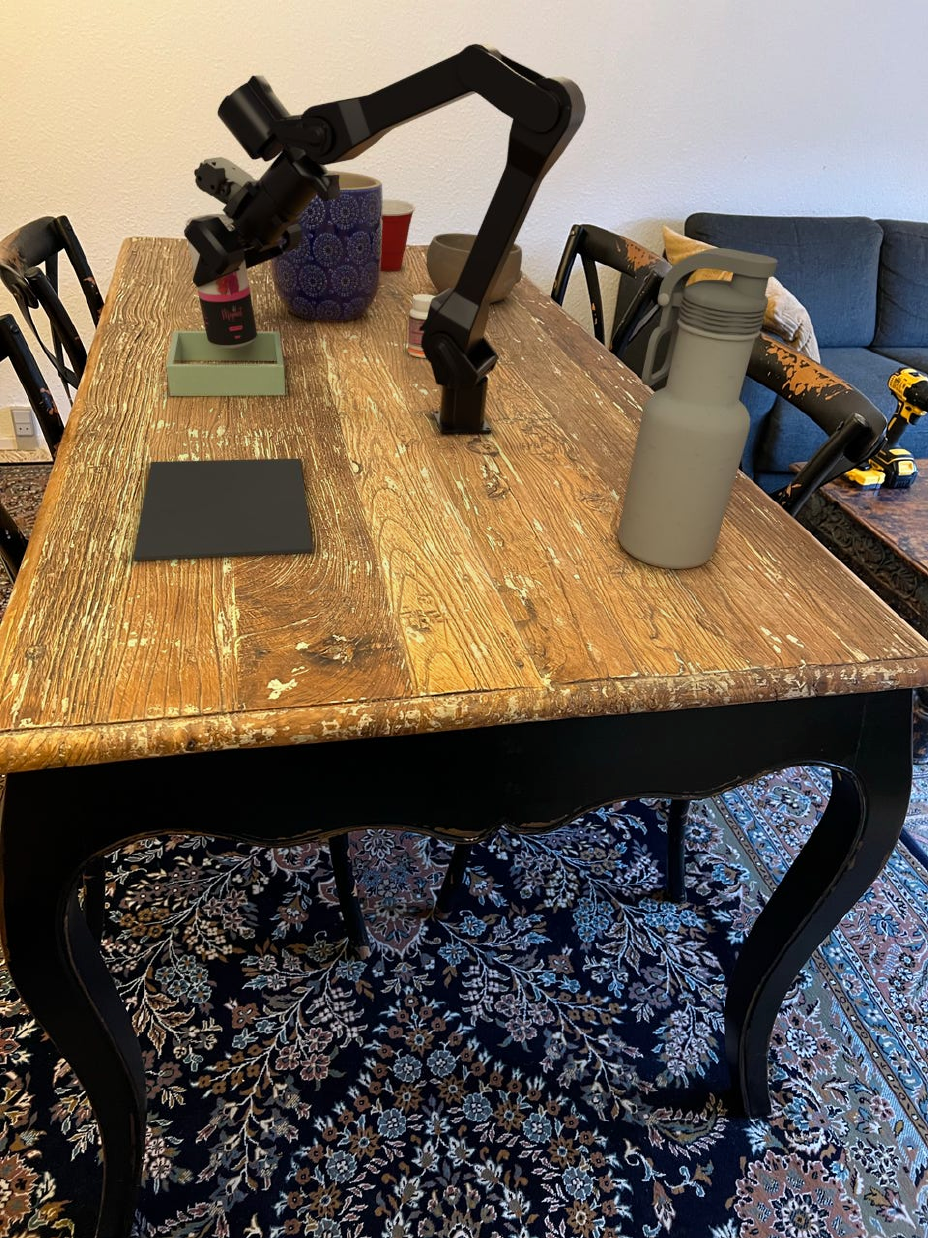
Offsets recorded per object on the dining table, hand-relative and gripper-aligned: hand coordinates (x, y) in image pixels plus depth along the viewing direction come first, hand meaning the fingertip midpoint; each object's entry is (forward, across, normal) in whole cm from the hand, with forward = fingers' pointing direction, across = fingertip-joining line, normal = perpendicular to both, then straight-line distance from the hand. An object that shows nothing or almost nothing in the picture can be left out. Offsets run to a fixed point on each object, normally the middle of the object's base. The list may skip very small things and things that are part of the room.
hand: (211, 278), depth 108 cm
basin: (+8, 0, +10) cm, 13 cm away
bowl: (-2, -59, +21) cm, 63 cm away
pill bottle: (-5, -24, +24) cm, 34 cm away
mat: (-6, +32, +24) cm, 41 cm away
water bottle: (-36, +20, +55) cm, 68 cm away
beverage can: (+4, -1, +7) cm, 8 cm away
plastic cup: (+14, -71, +4) cm, 72 cm away
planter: (+10, -35, +8) cm, 37 cm away
